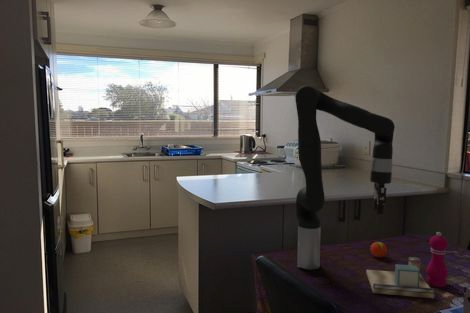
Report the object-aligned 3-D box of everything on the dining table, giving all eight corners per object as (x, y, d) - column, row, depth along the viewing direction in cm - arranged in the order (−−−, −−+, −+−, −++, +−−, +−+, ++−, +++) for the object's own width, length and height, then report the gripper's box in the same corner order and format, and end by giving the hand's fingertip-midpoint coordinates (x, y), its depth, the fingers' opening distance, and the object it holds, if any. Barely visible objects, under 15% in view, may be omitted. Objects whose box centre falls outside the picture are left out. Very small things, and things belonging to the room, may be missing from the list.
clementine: (390, 260, 167) (390, 244, 167) (374, 260, 167) (374, 244, 167) (383, 254, 175) (383, 239, 174) (368, 254, 175) (368, 239, 175)
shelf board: (373, 293, 135) (373, 284, 135) (366, 273, 153) (366, 265, 152) (434, 298, 131) (434, 289, 131) (419, 277, 149) (420, 269, 148)
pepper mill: (446, 289, 138) (449, 235, 136) (424, 285, 142) (427, 232, 140) (447, 282, 144) (450, 231, 143) (426, 278, 148) (429, 228, 146)
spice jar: (409, 277, 145) (410, 260, 144) (406, 273, 149) (407, 256, 148) (421, 278, 144) (421, 261, 143) (418, 274, 148) (418, 257, 147)
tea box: (394, 282, 140) (395, 264, 140) (415, 284, 139) (416, 265, 138) (397, 288, 135) (398, 269, 135) (419, 290, 134) (419, 270, 133)
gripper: (395, 172, 137) (391, 216, 139) (388, 169, 151) (385, 209, 152) (373, 171, 139) (370, 214, 140) (368, 167, 153) (366, 207, 154)
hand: (378, 211), depth 146 cm, fingers open, 8 cm apart
